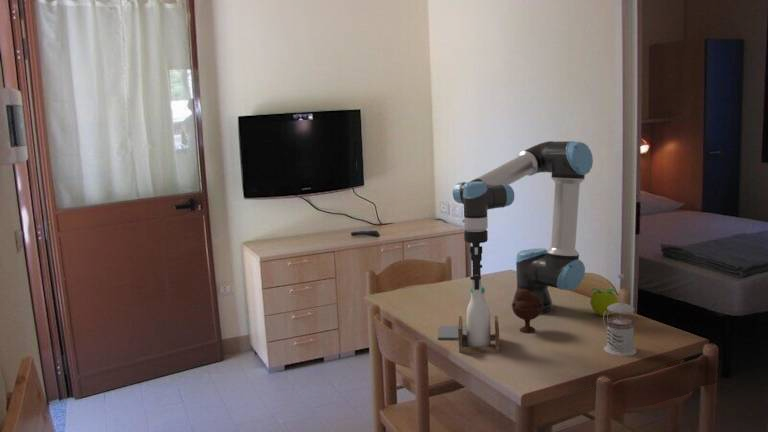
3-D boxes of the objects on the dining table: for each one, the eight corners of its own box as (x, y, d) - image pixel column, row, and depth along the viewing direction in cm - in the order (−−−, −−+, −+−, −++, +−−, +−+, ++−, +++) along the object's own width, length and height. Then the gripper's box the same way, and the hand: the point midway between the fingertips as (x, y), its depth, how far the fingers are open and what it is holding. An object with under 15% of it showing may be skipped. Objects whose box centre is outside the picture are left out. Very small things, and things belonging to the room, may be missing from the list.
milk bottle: (490, 349, 208) (488, 290, 205) (466, 349, 209) (464, 290, 206) (491, 341, 215) (489, 284, 212) (468, 340, 217) (466, 284, 214)
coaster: (473, 327, 229) (472, 325, 229) (473, 339, 218) (472, 337, 217) (439, 327, 231) (439, 325, 231) (437, 339, 219) (437, 337, 219)
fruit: (589, 310, 241) (589, 285, 240) (614, 311, 239) (615, 285, 238) (591, 318, 233) (591, 292, 231) (618, 319, 231) (618, 292, 229)
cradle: (498, 338, 218) (497, 315, 216) (499, 352, 205) (498, 328, 204) (459, 338, 220) (459, 315, 218) (459, 352, 207) (458, 328, 206)
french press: (619, 358, 196) (620, 279, 192) (593, 346, 206) (593, 271, 202) (643, 351, 200) (645, 274, 196) (616, 340, 210) (617, 267, 206)
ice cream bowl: (526, 338, 216) (525, 295, 214) (505, 329, 226) (504, 288, 224) (550, 332, 221) (549, 290, 219) (528, 323, 231) (528, 283, 228)
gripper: (464, 223, 219) (465, 283, 222) (463, 237, 194) (464, 304, 198) (486, 222, 218) (487, 283, 221) (488, 236, 193) (489, 304, 197)
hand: (476, 293), depth 209 cm, fingers open, 13 cm apart
